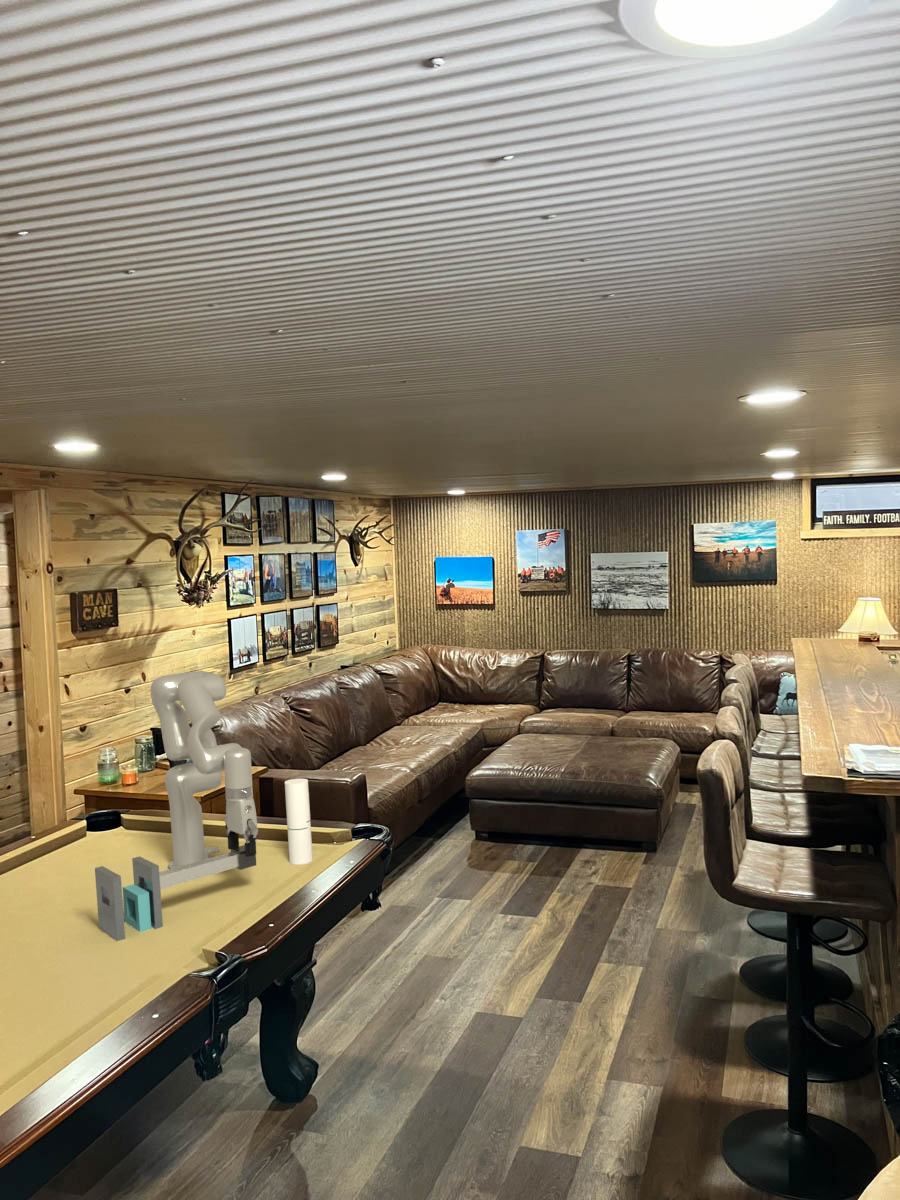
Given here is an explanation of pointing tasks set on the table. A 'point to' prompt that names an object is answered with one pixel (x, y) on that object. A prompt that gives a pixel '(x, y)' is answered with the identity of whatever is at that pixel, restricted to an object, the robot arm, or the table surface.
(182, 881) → the shaft
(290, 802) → the cylindrical container
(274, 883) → the table surface
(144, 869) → the pair of grey plates
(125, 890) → the spacer
